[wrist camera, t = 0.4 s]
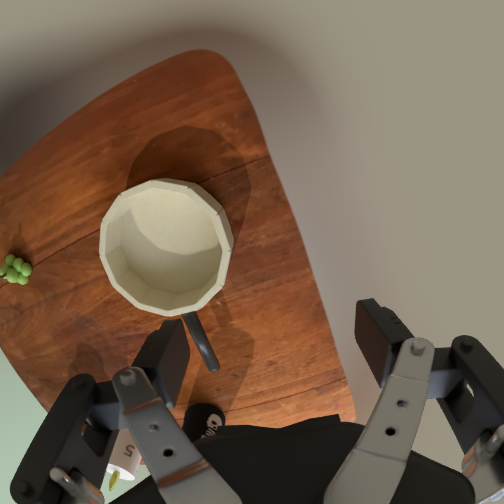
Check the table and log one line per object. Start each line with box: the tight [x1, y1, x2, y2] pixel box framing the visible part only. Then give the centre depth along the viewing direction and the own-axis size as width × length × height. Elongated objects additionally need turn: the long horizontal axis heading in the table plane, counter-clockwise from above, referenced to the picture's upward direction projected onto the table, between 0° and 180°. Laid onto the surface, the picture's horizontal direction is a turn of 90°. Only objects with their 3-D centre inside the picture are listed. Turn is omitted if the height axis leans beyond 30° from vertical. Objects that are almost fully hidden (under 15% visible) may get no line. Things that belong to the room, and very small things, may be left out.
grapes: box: [0, 254, 32, 285], centre depth 30 cm, size 7×5×6 cm, turn 67°
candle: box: [106, 428, 141, 491], centre depth 35 cm, size 6×6×15 cm
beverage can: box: [182, 404, 225, 443], centre depth 34 cm, size 7×7×12 cm
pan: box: [99, 178, 234, 372], centre depth 30 cm, size 23×14×5 cm, turn 17°
